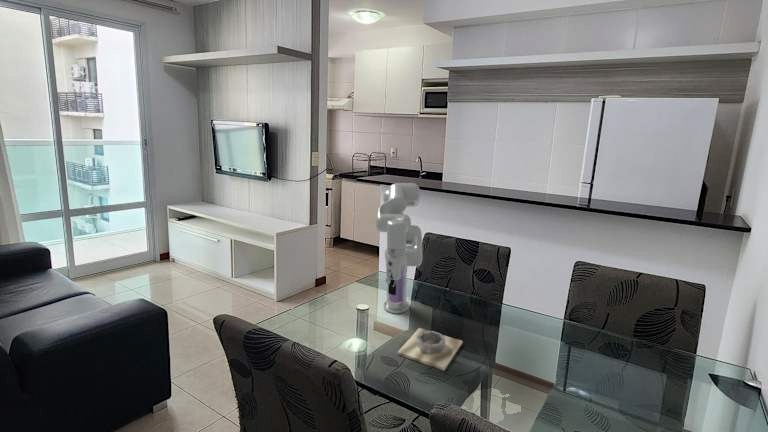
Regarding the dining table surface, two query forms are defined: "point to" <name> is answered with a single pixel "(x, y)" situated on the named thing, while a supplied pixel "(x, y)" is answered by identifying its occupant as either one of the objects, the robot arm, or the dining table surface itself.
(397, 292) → the beverage can
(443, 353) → the rosette socket
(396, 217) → the robot arm
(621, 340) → the dining table surface
